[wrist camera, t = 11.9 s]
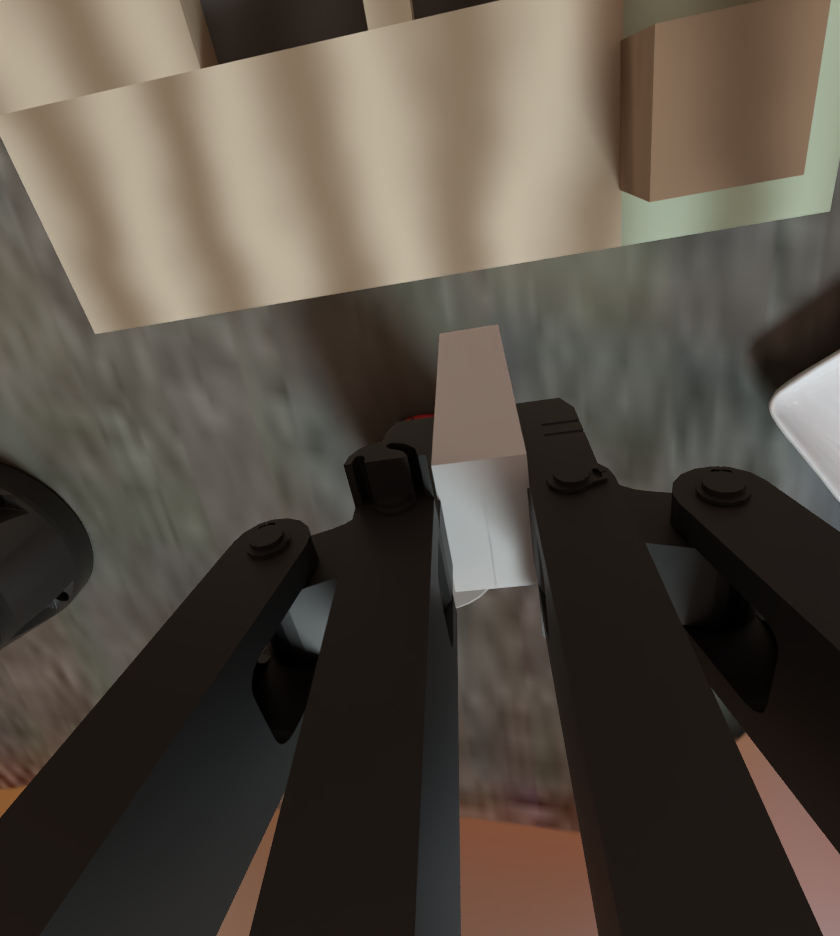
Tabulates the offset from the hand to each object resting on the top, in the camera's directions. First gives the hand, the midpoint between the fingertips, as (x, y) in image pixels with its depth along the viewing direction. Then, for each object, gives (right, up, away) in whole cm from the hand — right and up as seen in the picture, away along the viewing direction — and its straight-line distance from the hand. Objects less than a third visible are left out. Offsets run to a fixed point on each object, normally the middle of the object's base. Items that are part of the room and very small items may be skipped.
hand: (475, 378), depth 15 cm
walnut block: (+11, +14, +11) cm, 21 cm away
